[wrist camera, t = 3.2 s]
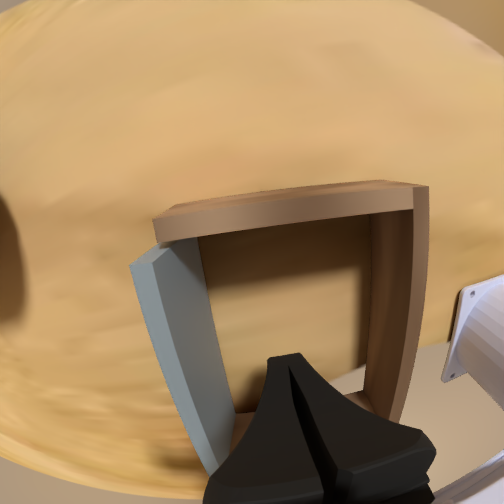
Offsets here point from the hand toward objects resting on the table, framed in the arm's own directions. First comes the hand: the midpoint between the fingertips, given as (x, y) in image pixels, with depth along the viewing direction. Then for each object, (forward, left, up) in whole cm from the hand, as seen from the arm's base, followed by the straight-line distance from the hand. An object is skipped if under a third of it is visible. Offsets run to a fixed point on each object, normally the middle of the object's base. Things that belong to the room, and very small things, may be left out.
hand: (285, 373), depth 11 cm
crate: (-1, 0, -4) cm, 4 cm away
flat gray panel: (+4, 0, -4) cm, 5 cm away
